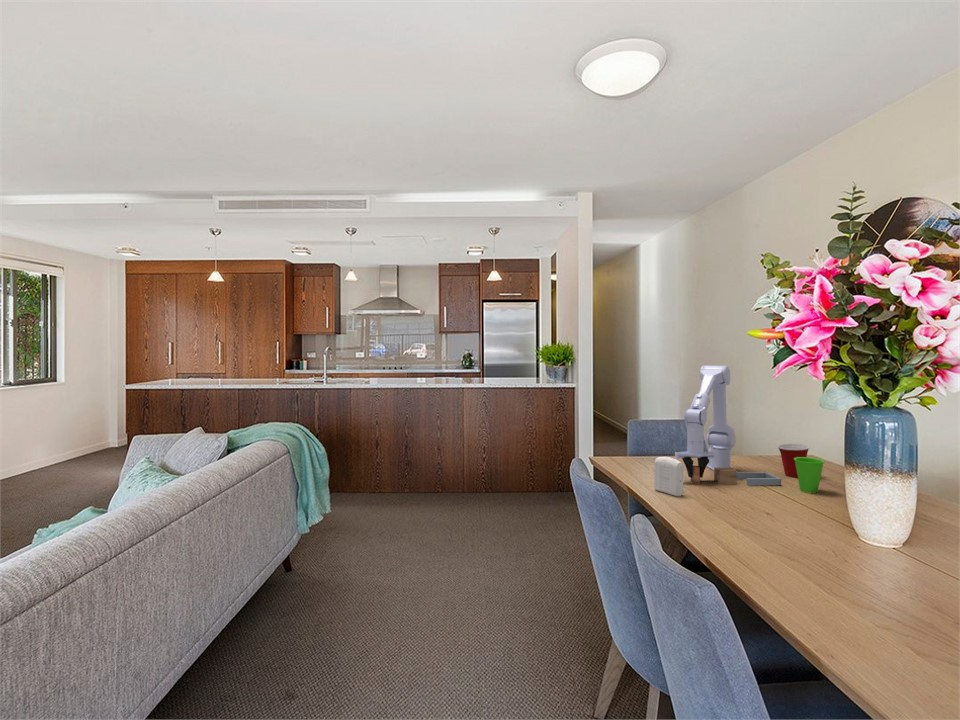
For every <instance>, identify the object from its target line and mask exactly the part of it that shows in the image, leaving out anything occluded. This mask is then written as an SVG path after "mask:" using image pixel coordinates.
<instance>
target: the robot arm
mask: <svg viewBox="0 0 960 720" xmlns="http://www.w3.org/2000/svg"><path fill="white" fill-rule="evenodd" d="M699 376H700V380H701V384H700V388H699V392H698V393H696V394H694V397H693V400H692V401H691V405H690V406H689V408H688V409H686V410H685V412H684V419H683V420H684V423H685V429H686V430H687V431H686V437H687V438H686V441H687V442H686V443H687V444H686V447H687V448H686V451H678V452H677V451H675V452H674V458H675V459H682V461H683V464H684V465H685V468H686V472H687V475H688V478H690V479H691V478H692V476H693V473H692V468H693V465H694V463H695V462H694V460H692V459H697V466H700V479H702V478H703V477H704V473H705V470H706V468H709V469H710V468H711V469H710V470H713V471H714V467H730V468H732V467H731V462H732V461H731V456H732V455H731V451H732V449H733V448H734V447H735V446H736V435H735V430H734V428H732V427H731V426H730V425H729V424H728V423H727V393H726V392H727V386H729V385H730V384H731V370H730V368H729V366H728V365H705V364H704V365H702V366H701V367H700V369H699ZM711 392H712V411H713V413H712V414H713V415H712V416H713V424H711V425H710V426H708V428H707V433H706V443H707V445H708V446H709V449H708V451H704V449H705V442H704V441H705V440H704V439H705V438H704V437H705V435H704V434H705V433H704V431H705V425H706V422H707V416H708V411H707V410H708V408H709V405H710V402H711V398H710V394H711Z"/></svg>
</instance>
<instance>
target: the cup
mask: <svg viewBox="0 0 960 720" xmlns="http://www.w3.org/2000/svg"><path fill="white" fill-rule="evenodd" d="M794 460H795V463H796V469H797V475H798V478H797V479H798V485H799V490H800V491H801V492H803V491H804V492H803V493H806V492H809V493H808V494H817V493H818V491H819V489H820V488H819V487H820V481H821V477H822V472H823V467H824V463H826V462H825V460H823V459H820V458H816V457H796V458H794ZM810 492H811V493H810ZM816 492H817V493H816Z"/></svg>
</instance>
